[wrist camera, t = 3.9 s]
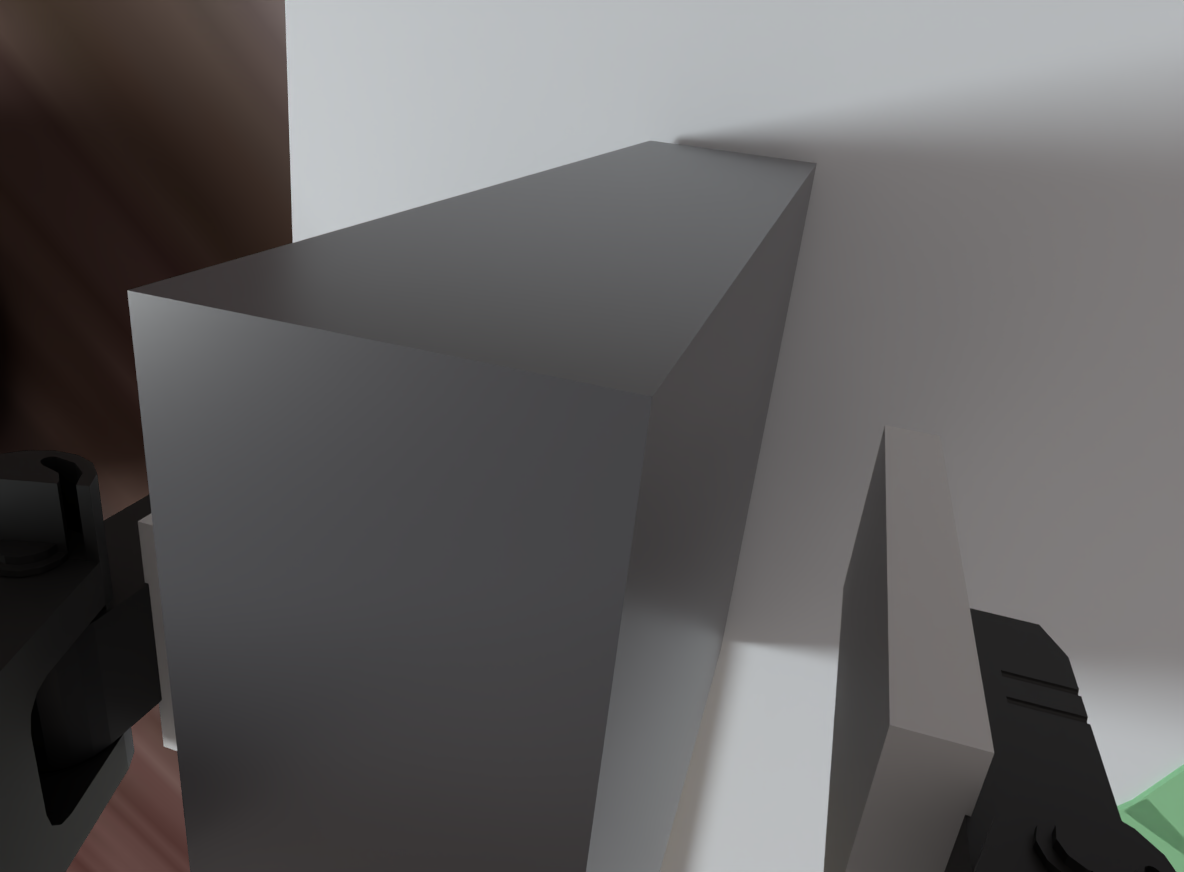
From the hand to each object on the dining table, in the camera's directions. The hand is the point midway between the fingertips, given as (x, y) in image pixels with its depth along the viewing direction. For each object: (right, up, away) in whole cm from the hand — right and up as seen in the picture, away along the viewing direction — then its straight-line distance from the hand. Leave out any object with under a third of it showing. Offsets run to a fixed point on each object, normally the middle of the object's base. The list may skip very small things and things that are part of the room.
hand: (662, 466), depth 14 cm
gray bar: (0, -3, +4) cm, 5 cm away
